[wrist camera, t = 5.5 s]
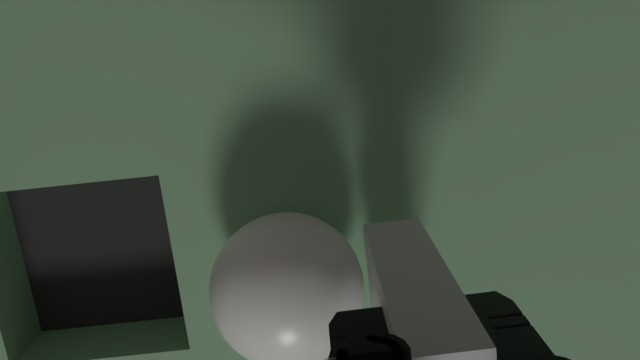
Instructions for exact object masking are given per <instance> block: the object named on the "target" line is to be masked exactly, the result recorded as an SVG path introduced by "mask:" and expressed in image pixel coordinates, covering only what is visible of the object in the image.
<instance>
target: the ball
mask: <svg viewBox="0 0 640 360" xmlns="http://www.w3.org/2000/svg"><path fill="white" fill-rule="evenodd" d="M209 300H210V307H211V312H212V315H213V318H214V321H215V323H216V325H217V327H218V329H219V331H220V333H221V334H222V336H223V337H224V339H225V340H226V341H227V342H228V344H229V345H230V346H231V347H232V348H233V349H234V350H235V351H236V352H238V353H239V354H240V355H241V356H243V357H245V358H246V359H248V360H324V359H326V358H327V357H329V353H330V350H331V348H330V337H329V325H328V324H329V323H330V321H331V320H332V318H333V317H334V315H335V314H336V312H340V311H348V310H356V309H362V306H363V301H364V280H363V274H362V269H361V266H360V264H359V261H358V258H357V256H356V254H355V252H354V250H353V248H352V247H351V246H350V244H349V243H348V242H347V240H346V239H345V238H344V237H343V236H342V235H341V234H340V233H339V232H338V231H337V230H336V229H334V228H333V227H332V226H330V225H329V224H328V223H326V222H324V221H322V220H320V219H318V218H316V217H313V216H310V215H306V214H302V213H295V212H279V213H273V214H268V215H265V216H262V217H259V218H257V219H255V220H253V221H251V222H249V223H247V224H246V225H244V226H243V227H241V228H240V229H239V230H238V231H236V232H235V233H234V234H233V235H232V236H231V237H230V238H229V239H228V240H227V242H226V243H225V244H224V246H223V247H222V249H221V250H220V252H219V254H218V255H217V258H216V260H215V262H214V265H213V269H212V272H211V276H210V283H209Z"/></svg>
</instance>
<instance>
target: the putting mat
mask: <svg viewBox="0 0 640 360" xmlns="http://www.w3.org/2000/svg"><path fill="white" fill-rule="evenodd" d="M279 212H295V213H302V214H306V215H310V216H313V217H316V218H318V219H320V220H322V221H324V222H326V223H328V224H329V225H330V226H332V227H333V228H334V229H336V230H337V231H338V232H339V233H340V234H341V235H342V236H343V237H344V238H345V239H346V240H347V242H348V243H349V244H350V246H351V247H352V248H353V250H354V252H355V254H356V256H357V258H358V261H359V264H360V266H361V269H362V274H363V280H364V301H363V306H362V309H364V308H371V299H370V290H369V280H368V270H367V261H366V251H365V242H364V232H363V225H365V224H373V223H381V222H390V221H398V220H406V219H414V218H419V220H420V222H421V223H422V225H423V227H424V228H425V230H426V232H427V233H428V235H429V237H430V238H431V240H432V242H433V243H434V245H435V247H436V248H437V250H438V252H439V253H440V255H441V257H442V258H443V260H444V262H445V263H446V265H447V267H448V268H449V270H450V272H451V273H452V275H453V277H454V278H455V280H456V282H457V283H458V285H459V287H460V288H461V290H462V292H463V293H464V295H466V294H474V293H482V292H491V291H497V292H498V293H500V294H502V295H504V296H506V297H508V298H510V299H511V300H513V301H514V302H515V304H516V305H517V306H518V308H519V309H520V310H521V311H522V313H523V315H525V317H526V318H527V319H528V321H529V322H530V325H531V326H533V327H534V328H535V330H536V331H537V332H538V334H539V335H540V336H541V338H542V339H543V340H544V342H545V343H546V344H547V345H548V347H549V348H550V349H551V351H552V352H553V353H554V355H556V356H562V357H566V358H568V359H570V360H640V0H0V360H248V359H246V358H245V357H243V356H241V355H240V354H239V353H238V352H236V351H235V350H234V349H233V348H232V347H231V346H230V345H229V344H228V342H227V341H226V340H225V339H224V337H223V336H222V334H221V333H220V331H219V329H218V327H217V325H216V323H215V321H214V318H213V315H212V312H211V307H210V300H209V283H210V276H211V272H212V269H213V265H214V262H215V260H216V258H217V255H218V254H219V252H220V250H221V249H222V247H223V246H224V244H225V243H226V242H227V240H228V239H229V238H230V237H231V236H232V235H233V234H234V233H235V232H236V231H238V230H239V229H240V228H241V227H243V226H244V225H246V224H247V223H249V222H251V221H253V220H255V219H257V218H259V217H262V216H265V215H268V214H273V213H279ZM324 360H328V357H327V358H326V359H324Z"/></svg>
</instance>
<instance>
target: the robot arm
mask: <svg viewBox="0 0 640 360" xmlns="http://www.w3.org/2000/svg"><path fill="white" fill-rule="evenodd" d="M363 232H364V242H365V251H366V261H367V270H368V280H369V290H370V299H371V308H364V309H356V310H348V311H340V312H336V314H335V315H334V317H333V318H332V320H331V321H330V323H329V324H328V325H329V337H330V348H331V350H330V353H329V357H328V360H570V359H568V358H566V357H562V356H556V355H554V353H553V352H552V351H551V349H550V348H549V347H548V345H547V344H546V343H545V342H544V340H543V339H542V338H541V336H540V335H539V334H538V332H537V331H536V330H535V328H534V327H533V326H531V325H530V322H529V321H528V319H527V318H526V317H525V315H523V313H522V311H521V310H520V309H519V308H518V306H517V305H516V304H515V302H514V301H513V300H511V299H510V298H508V297H506V296H504V295H502V294H500V293H498V292H497V291H491V292H482V293H474V294H466V295H464V293H463V292H462V290H461V288H460V287H459V285H458V283H457V282H456V280H455V278H454V277H453V275H452V273H451V272H450V270H449V268H448V267H447V265H446V263H445V262H444V260H443V258H442V257H441V255H440V253H439V252H438V250H437V248H436V247H435V245H434V243H433V242H432V240H431V238H430V237H429V235H428V233H427V232H426V230H425V228H424V227H423V225H422V223H421V222H420V220H419V218H414V219H406V220H398V221H390V222H381V223H373V224H365V225H363Z"/></svg>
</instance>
